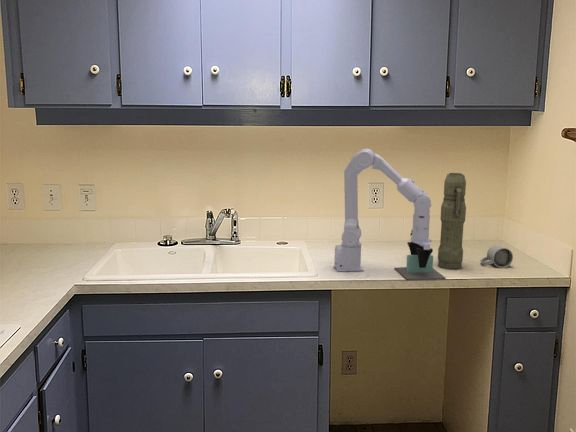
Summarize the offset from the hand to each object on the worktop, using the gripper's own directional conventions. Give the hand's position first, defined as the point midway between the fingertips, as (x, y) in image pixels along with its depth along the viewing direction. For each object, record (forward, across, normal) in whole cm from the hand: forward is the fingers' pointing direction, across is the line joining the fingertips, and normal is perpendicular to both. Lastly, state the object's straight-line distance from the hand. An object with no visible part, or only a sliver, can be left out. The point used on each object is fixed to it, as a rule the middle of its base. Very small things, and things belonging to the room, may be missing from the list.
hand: (418, 264), depth 207 cm
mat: (+3, -1, 0) cm, 3 cm away
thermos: (+3, +8, -15) cm, 17 cm away
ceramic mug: (+3, +8, -33) cm, 34 cm away
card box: (+3, 0, 0) cm, 3 cm away
